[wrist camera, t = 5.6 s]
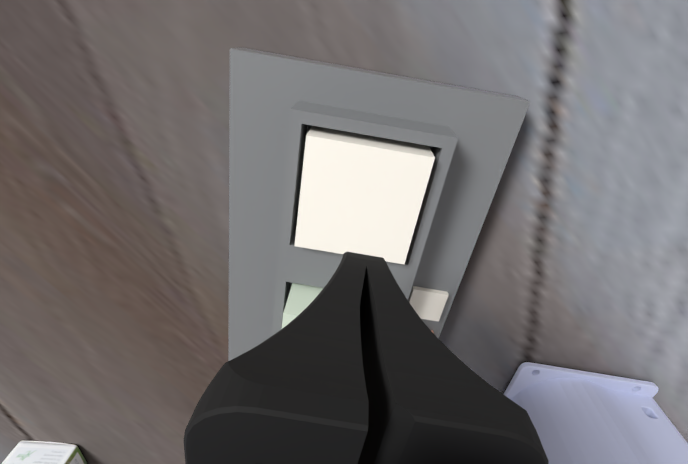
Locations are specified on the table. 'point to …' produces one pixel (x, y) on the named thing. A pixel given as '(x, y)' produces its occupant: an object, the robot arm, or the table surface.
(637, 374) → the table surface
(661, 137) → the table surface
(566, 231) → the table surface
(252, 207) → the stepped grey tray
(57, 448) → the syrup box
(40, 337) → the table surface
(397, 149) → the cream key
